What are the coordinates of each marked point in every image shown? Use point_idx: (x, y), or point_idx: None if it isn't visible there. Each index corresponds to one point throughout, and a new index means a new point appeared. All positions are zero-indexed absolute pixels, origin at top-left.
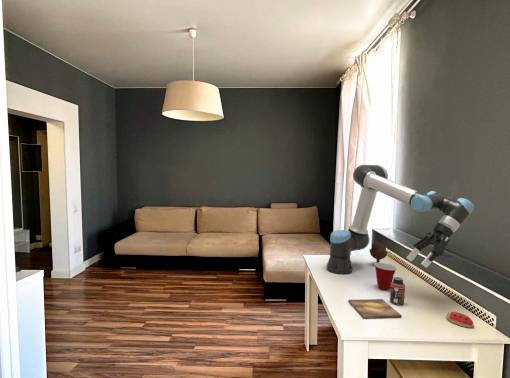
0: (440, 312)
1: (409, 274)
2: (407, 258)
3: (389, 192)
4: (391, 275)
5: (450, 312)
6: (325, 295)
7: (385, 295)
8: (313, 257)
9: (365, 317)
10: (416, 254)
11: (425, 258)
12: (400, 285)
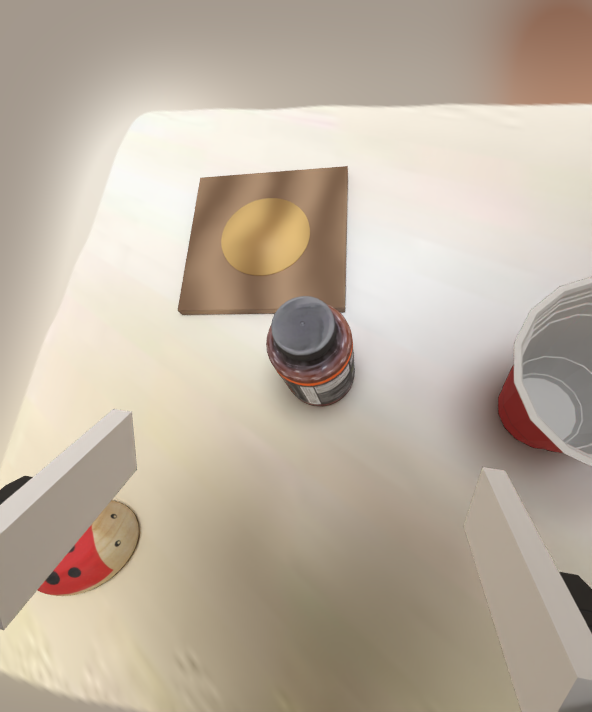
0: (189, 532)
1: None
2: (480, 475)
3: None
4: (521, 406)
5: (96, 521)
6: (420, 108)
7: (417, 363)
8: None
9: (200, 186)
10: (506, 638)
11: (77, 458)
12: (269, 333)
